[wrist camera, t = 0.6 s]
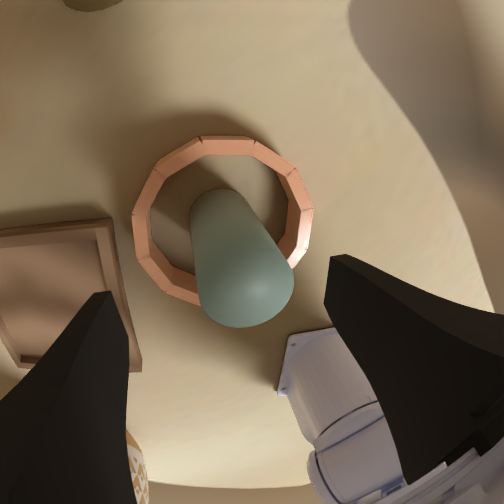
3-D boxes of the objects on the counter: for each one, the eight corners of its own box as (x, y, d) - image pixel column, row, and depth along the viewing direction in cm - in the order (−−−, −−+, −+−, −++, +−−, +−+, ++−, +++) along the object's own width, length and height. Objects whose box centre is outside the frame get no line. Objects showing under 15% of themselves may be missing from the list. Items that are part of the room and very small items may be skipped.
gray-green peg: (249, 244, 20) (287, 322, 13) (190, 247, 19) (200, 331, 12) (252, 187, 18) (300, 244, 11) (188, 189, 17) (196, 250, 10)
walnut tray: (142, 359, 23) (141, 372, 22) (22, 356, 20) (18, 367, 19) (112, 217, 17) (107, 226, 16) (-30, 233, 14) (-40, 242, 13)
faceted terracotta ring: (288, 281, 22) (299, 297, 20) (147, 291, 20) (145, 311, 18) (306, 139, 17) (321, 144, 16) (133, 139, 15) (126, 144, 13)
